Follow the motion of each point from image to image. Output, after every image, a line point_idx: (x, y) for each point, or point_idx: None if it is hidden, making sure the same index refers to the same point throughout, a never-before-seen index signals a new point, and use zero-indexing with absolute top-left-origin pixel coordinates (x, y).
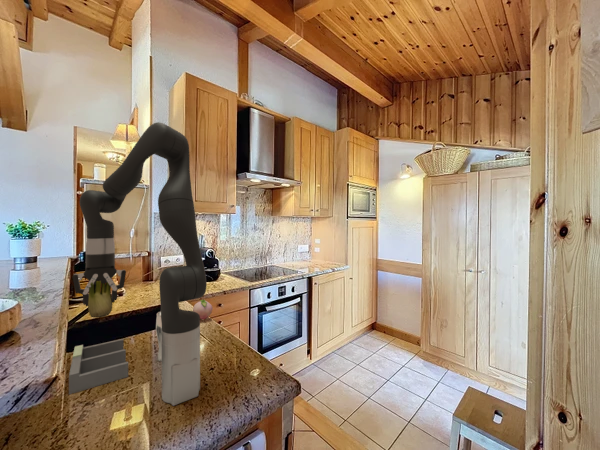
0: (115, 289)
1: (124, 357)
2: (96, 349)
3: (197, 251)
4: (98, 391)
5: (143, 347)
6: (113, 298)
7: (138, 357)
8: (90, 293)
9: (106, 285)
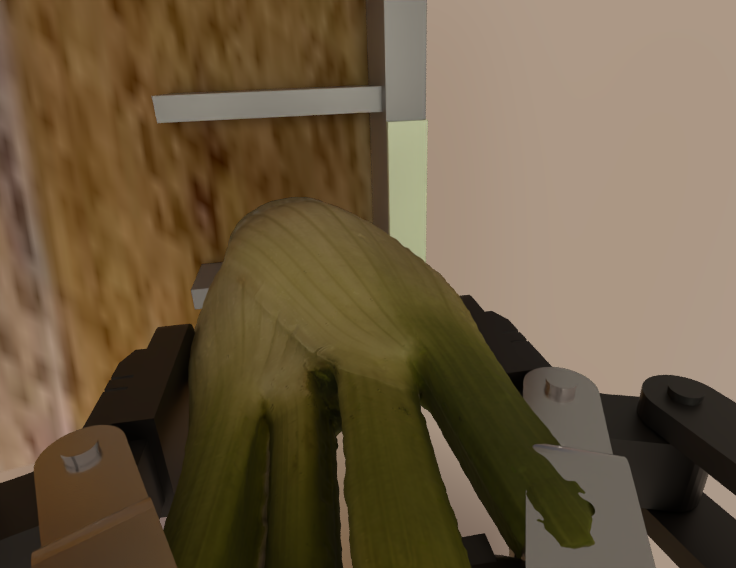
0: (73, 437)
1: (168, 94)
2: None
3: None
4: None
5: (96, 255)
6: (160, 348)
7: (105, 125)
8: (483, 358)
9: (236, 532)
